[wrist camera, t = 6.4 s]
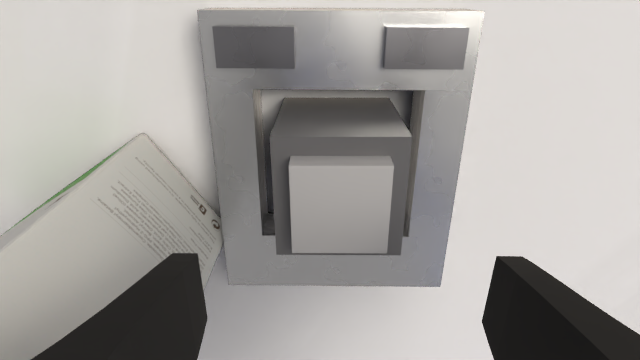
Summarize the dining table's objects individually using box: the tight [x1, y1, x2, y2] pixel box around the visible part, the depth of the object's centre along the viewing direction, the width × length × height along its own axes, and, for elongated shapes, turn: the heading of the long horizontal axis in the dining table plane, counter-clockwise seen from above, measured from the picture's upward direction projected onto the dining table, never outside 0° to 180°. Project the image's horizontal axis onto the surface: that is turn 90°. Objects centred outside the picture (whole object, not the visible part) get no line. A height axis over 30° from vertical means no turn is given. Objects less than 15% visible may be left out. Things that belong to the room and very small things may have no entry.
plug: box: [270, 98, 412, 255], centre depth 16 cm, size 4×4×6 cm
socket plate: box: [197, 8, 485, 287], centre depth 17 cm, size 12×10×2 cm
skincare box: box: [0, 133, 224, 360], centre depth 13 cm, size 8×7×16 cm
